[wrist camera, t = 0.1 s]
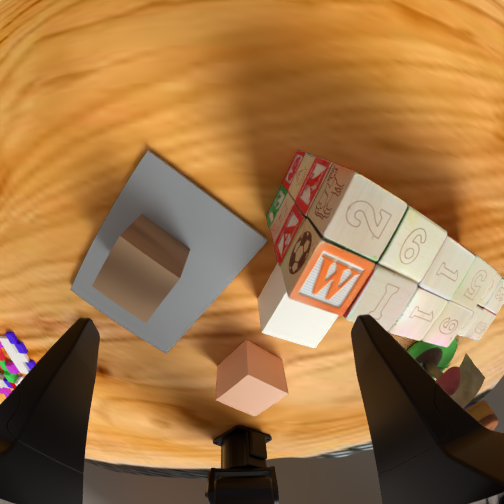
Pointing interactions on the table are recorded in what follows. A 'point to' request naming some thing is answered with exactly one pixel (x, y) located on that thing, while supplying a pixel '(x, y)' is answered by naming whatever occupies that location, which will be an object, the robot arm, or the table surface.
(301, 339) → the offwhite brick
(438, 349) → the plant figurine
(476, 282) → the stack of blocks
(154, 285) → the walnut brick
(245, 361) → the terracotta brick
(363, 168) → the table surface
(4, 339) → the building block set
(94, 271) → the plate
